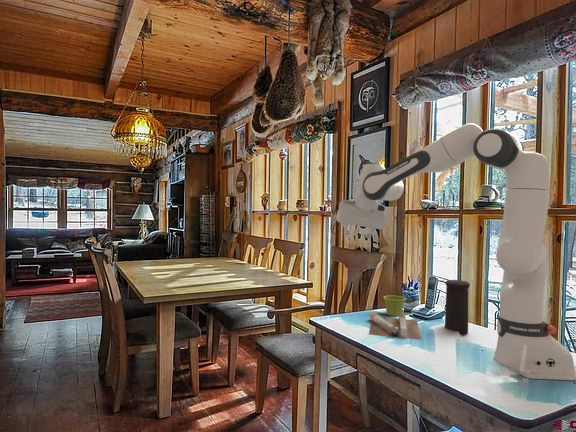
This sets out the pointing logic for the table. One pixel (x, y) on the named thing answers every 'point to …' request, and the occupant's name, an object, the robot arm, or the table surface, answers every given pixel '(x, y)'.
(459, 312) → the container
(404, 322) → the fixed tong leg
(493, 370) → the table surface
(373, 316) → the loose tong leg
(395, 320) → the walnut board
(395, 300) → the plant pot
